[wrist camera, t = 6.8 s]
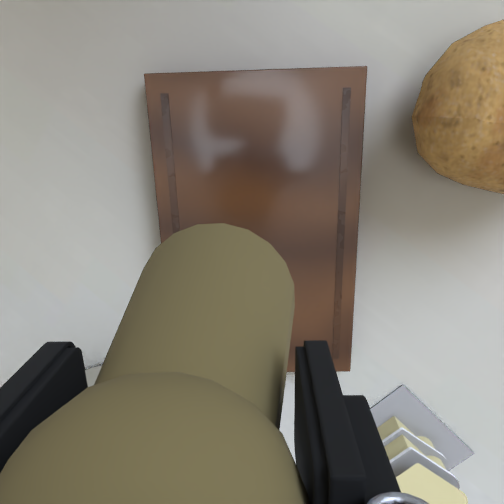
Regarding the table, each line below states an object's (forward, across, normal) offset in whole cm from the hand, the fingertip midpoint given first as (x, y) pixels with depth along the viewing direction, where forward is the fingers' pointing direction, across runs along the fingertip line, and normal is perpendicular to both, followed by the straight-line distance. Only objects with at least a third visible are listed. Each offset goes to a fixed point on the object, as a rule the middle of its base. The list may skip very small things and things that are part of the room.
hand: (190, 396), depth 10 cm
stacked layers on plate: (+21, -14, +21) cm, 33 cm away
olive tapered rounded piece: (+6, 0, 0) cm, 6 cm away
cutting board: (+20, -1, +1) cm, 21 cm away
